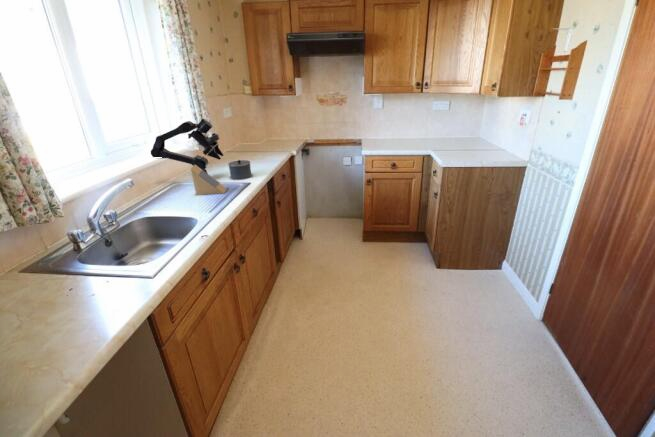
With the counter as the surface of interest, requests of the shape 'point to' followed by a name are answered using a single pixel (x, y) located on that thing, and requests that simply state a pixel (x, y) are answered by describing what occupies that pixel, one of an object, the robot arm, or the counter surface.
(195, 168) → the sandwich container
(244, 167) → the stockpot
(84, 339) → the counter surface
